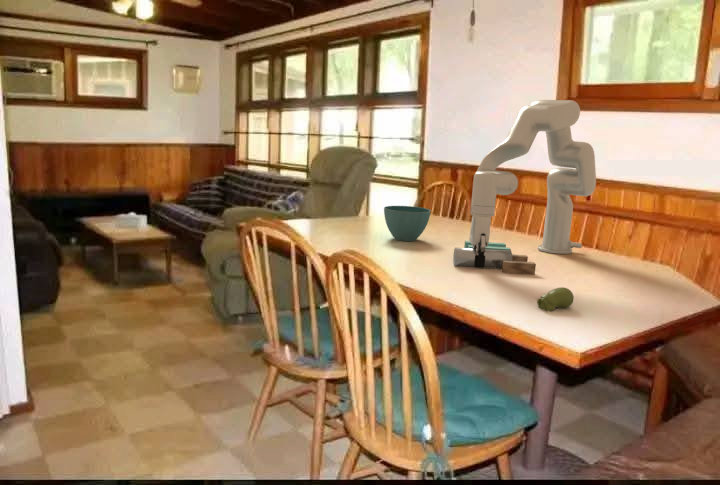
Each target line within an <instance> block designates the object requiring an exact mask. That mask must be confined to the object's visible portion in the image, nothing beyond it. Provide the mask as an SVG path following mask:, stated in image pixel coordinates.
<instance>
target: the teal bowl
mask: <svg viewBox="0 0 720 485" xmlns="http://www.w3.org/2000/svg"><path fill="white" fill-rule="evenodd" d="M383 215H384V221H385V224H386V227H387V229H388V231H389V233H390V234H391V236H392V237H393V238H394V239H395V240H397V241H401V242H414V241H416V240H418V238H419V237H421V235H422V234H423V232H424V231H425V230H426V228H427V225H428V222H429V220H430V216H431V209H429V208H426V207H419V206H413V205H386V206H384V207H383Z"/></svg>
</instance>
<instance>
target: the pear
mask: <svg viewBox="0 0 720 485" xmlns="http://www.w3.org/2000/svg"><path fill="white" fill-rule="evenodd" d="M574 297H575V296H574V293H573V292H572V291H571V289H570V288H568V287H563V286H562V287H556V288H553V289H551V290H550V291H548V293H544V294H542V295H541V296H540V297H539V298H538V299H537V300H536V304H537V306H538V309H541V310H543V311H545V312H551V311H552V312H553V311H554V310H555V309H556V308H561V309H568V308H569V307H571V306H572V305H573V303H574V301H575V300H574V299H575V298H574Z"/></svg>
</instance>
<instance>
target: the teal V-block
mask: <svg viewBox="0 0 720 485" xmlns="http://www.w3.org/2000/svg"><path fill="white" fill-rule="evenodd" d="M463 246H464V247H463V248H473V245H472V244H471V243H470V241H469V240H464V244H463ZM479 246H480V245H479ZM486 249H489V250H506V251H511V252H512V248H510V247H508V246H507V244H506V243H505V242H495V241H494V242H491V241H489V243H488V246H487V247H486Z"/></svg>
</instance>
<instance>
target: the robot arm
mask: <svg viewBox="0 0 720 485" xmlns="http://www.w3.org/2000/svg"><path fill="white" fill-rule="evenodd" d="M580 108H581V107H580V105H579V104H578V102H577V101H575V100H570V99H567V100H566V99H564V100H563V99H557V100H556V99H539V100H536V101H535V100H534V101H533V102H532V103H531V104H530V105H525V106H523V107H522V108H521V109H520V110H519V112H518V114H517V116H516V118H515V120H514V122H513V124H512V126H511V128H510V130H509V132H508V134H507V136H506V138H505V140H504V141H503V142H502V143H500V144H498V145H497V146H496V147H494V148H493V149H492V150H491V151H489V152H488V153H487V154H486V155H485V156H484V157H483V159H482V160H481V162H480V164H479V166H478V168H477V170H476V172H475V173H474V175H473V180H472V181H473V183H472V194H471V204H470V215H471V216H472V217H471V223H470V231H469V239H468V241H470V243H471V244H472V245H473V248H472V249H476V255H475V262H474V267H473V268H476V269H477V268H478V269H479V268H480V269H484V265H485V250H486V247H487V246H488V243H489V242H490V233H491V224H492V222H491V220H492V217H494V216H495V212H496V203H497V200H496V199H497V195H501V196H508V195H512V194H513V193H514V192H515V191H516V190H517V188H518V185H519V180H518V177H517V176H516V174H514V173H512V172H510V171H505V170H504V171H503V170H496V169H497V168H498V167H499V166H501V165H502V164H504V163H505V162H508V161H511V160H514V159H517V158H520V157H523V156H526V154H528V153H529V152H530V150H531V148H532V146H533V143H534V141H535V139H536V137H537V135H538V133H539V132H545V134H546V143H547V154H548V155H547V156H548V160H549V162H550V164H551V165H552V166H554V167H555V168H552V170H550V171H549V172H548V174H547V176H546V187H547V188H546V189H547V201H546V208H545V217H544V228H543V237H542V244H538V245H537V250H538V251H541V252H543V253H544V252H545V253H548V254H549V253H550V254H557V255H559V254H560V255H569V254H572V253H573V248H575V249H577V248H578V249H581V248H583V244H582V243H581V242H575V241H572V240H570V236H571V226H572V220H573V219H572V218H573V211H574V204H573V201H572V198H571V196H579V197H588V196H591V195H592V194H593V193H594V192H595V189H596V185H597V173H596V172H597V171H596V170H597V169H596V156H595V150H594V148H593V146H592V144H590V143H589V142H586V141H577V140H573V136H572V129H571V127H572V126H574V125H575V124H576V123H577V122H578V121H579V119H580V115H581V109H580ZM479 245H480V246H479Z"/></svg>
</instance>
